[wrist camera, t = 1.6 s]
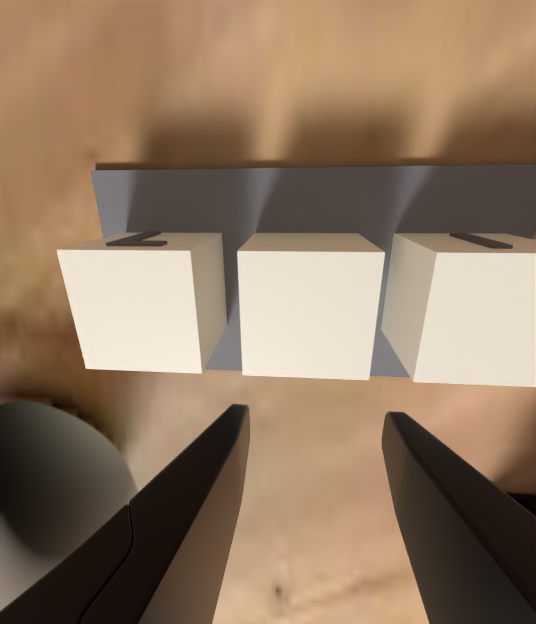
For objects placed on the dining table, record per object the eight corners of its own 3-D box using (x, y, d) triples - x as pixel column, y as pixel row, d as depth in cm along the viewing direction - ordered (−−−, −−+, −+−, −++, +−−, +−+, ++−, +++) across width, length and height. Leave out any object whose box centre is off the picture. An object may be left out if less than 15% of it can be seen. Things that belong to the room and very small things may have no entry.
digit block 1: (505, 230, 17) (603, 249, 12) (479, 331, 20) (551, 387, 14) (394, 230, 18) (437, 248, 12) (381, 328, 20) (413, 382, 15)
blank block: (358, 233, 18) (385, 252, 13) (349, 328, 20) (368, 380, 15) (255, 232, 19) (237, 251, 13) (257, 325, 21) (242, 375, 15)
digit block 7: (221, 230, 19) (189, 247, 13) (227, 324, 21) (202, 373, 15) (125, 230, 19) (55, 246, 14) (140, 322, 22) (86, 368, 16)
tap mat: (548, 164, 16) (553, 163, 16) (487, 377, 21) (491, 380, 21) (94, 170, 19) (90, 170, 18) (131, 363, 23) (128, 366, 23)
